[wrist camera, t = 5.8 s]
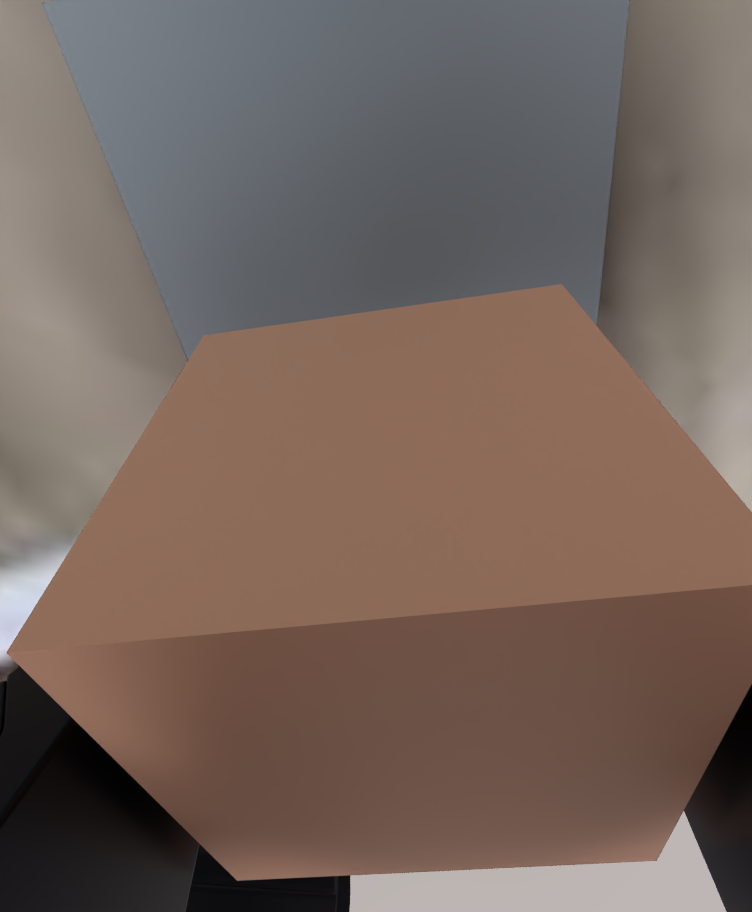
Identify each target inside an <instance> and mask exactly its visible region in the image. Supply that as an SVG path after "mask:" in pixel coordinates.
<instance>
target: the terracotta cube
mask: <svg viewBox="0 0 752 912" xmlns="http://www.w3.org/2000/svg"><path fill="white" fill-rule="evenodd" d="M7 654H8V655H9V656H10V657H11V658H12V659H13V660H14V661H15V662H16V663H17V664H18V665H19V666H20V667H21V668H22V669H23V670H24V671H25V672H26V673H27V674H28V675H29V676H30V677H31V678H32V679H33V680H34V681H35V682H37V683H38V684H39V685H40V686H41V687H42V688H43V689H44V690H45V691H46V692H47V693H48V694H49V695H50V696H51V697H52V698H53V699H54V700H55V701H56V702H57V703H58V704H59V705H60V706H61V707H62V708H63V709H64V710H65V711H66V712H67V713H68V714H69V715H70V716H71V717H72V718H73V719H74V720H75V721H76V722H77V723H78V724H79V725H80V726H81V727H82V728H83V729H84V730H85V731H86V732H87V733H88V734H89V735H90V736H91V737H92V738H93V739H94V740H95V741H96V742H97V743H98V744H99V745H100V746H101V747H102V748H103V749H104V750H105V751H106V752H107V753H108V754H109V755H110V756H111V757H112V758H113V759H114V760H115V761H116V762H117V763H118V764H119V765H120V766H121V767H123V768H124V769H125V770H126V771H127V772H128V773H129V774H130V775H131V776H132V777H133V778H134V779H135V780H136V781H137V782H138V783H139V784H140V785H141V786H142V787H143V788H144V789H145V790H146V791H147V792H148V793H149V794H150V795H151V796H152V797H153V798H154V799H155V800H156V801H157V802H158V803H159V804H160V805H161V806H162V807H163V808H164V809H165V810H166V811H167V812H168V813H169V814H170V815H171V816H172V817H173V818H174V819H175V820H176V821H177V822H178V823H179V824H180V825H181V826H182V827H183V828H184V829H185V830H186V831H187V832H188V833H189V834H190V835H191V836H192V837H193V838H194V839H195V840H196V841H197V842H198V843H199V844H200V845H201V846H202V847H203V848H204V849H205V850H206V851H208V852H209V853H210V854H211V855H212V856H213V857H214V858H215V859H216V860H217V861H218V862H219V863H220V864H221V865H222V866H223V867H224V868H225V869H226V870H227V871H228V872H229V873H230V874H231V875H232V876H233V877H234V878H235V879H236V880H237V881H241V880H262V879H283V878H304V877H325V876H346V875H364V874H365V875H366V874H385V873H386V874H387V873H407V872H408V873H409V872H428V871H451V870H470V869H490V868H491V869H493V868H513V867H533V866H534V867H535V866H554V865H555V866H556V865H575V864H598V863H619V862H639V861H657V859H658V857H659V855H660V854H661V852H662V850H663V848H664V846H665V844H666V842H667V840H668V839H669V837H670V835H671V833H672V831H673V829H674V827H675V826H676V824H677V822H678V820H679V818H680V816H681V815H682V813H683V811H684V809H685V807H686V805H687V803H688V802H689V800H690V798H691V796H692V794H693V792H694V790H695V789H696V787H697V785H698V783H699V781H700V779H701V777H702V775H703V774H704V772H705V770H706V768H707V766H708V764H709V762H710V761H711V759H712V757H713V755H714V753H715V751H716V749H717V748H718V746H719V744H720V742H721V740H722V738H723V736H724V735H725V733H726V731H727V729H728V727H729V725H730V723H731V722H732V720H733V718H734V716H735V714H736V712H737V710H738V709H739V707H740V705H741V703H742V701H743V699H744V697H745V696H746V694H747V692H748V690H749V688H750V686H751V684H752V512H751V511H750V510H749V509H748V508H747V506H746V505H745V504H744V503H743V502H742V500H741V499H740V498H739V497H738V496H737V494H736V493H735V492H734V491H733V489H732V488H731V487H730V486H729V485H728V483H727V482H726V481H725V480H724V479H723V477H722V476H721V475H720V474H719V473H718V471H717V470H716V469H715V468H714V467H713V465H712V464H711V463H710V462H709V461H708V459H707V458H706V457H705V456H704V455H703V453H702V452H701V451H700V450H699V449H698V447H697V446H696V445H695V444H694V443H693V441H692V440H691V439H690V438H689V437H688V435H687V434H686V433H685V432H684V430H683V429H682V428H681V427H680V426H679V424H678V423H677V422H676V421H675V420H674V418H673V417H672V416H671V415H670V414H669V412H668V411H667V410H666V409H665V408H664V406H663V405H662V404H661V403H660V402H659V400H658V399H657V398H656V397H655V396H654V394H653V393H652V392H651V391H650V390H649V388H648V387H647V386H646V385H645V384H644V382H643V381H642V380H641V379H640V377H639V376H638V375H637V374H636V373H635V371H634V370H633V369H632V368H631V367H630V365H629V364H628V363H627V362H626V361H625V359H624V358H623V357H622V356H621V355H620V353H619V352H618V351H617V350H616V349H615V347H614V346H613V345H612V344H611V343H610V341H609V340H608V339H607V338H606V337H605V335H604V334H603V333H602V332H601V331H600V329H599V328H598V327H597V326H596V325H595V323H594V322H593V321H592V320H591V318H590V317H589V316H588V315H587V314H586V312H585V311H584V310H583V309H582V308H581V306H580V305H579V304H578V303H577V302H576V300H575V299H574V298H573V297H572V296H571V294H570V293H569V292H568V291H567V290H566V288H565V287H564V286H563V285H562V284H559V285H552V286H545V287H538V288H531V289H524V290H517V291H510V292H503V293H496V294H489V295H482V296H475V297H468V298H461V299H454V300H447V301H440V302H433V303H426V304H419V305H412V306H405V307H398V308H391V309H384V310H377V311H370V312H363V313H356V314H349V315H342V316H335V317H328V318H322V319H315V320H308V321H301V322H294V323H287V324H280V325H273V326H266V327H259V328H252V329H245V330H238V331H231V332H224V333H217V334H210V335H204V336H203V337H202V339H201V341H200V342H199V344H198V345H197V347H196V349H195V350H194V352H193V353H192V355H191V357H190V358H189V360H188V362H187V363H186V365H185V366H184V368H183V370H182V371H181V373H180V374H179V376H178V378H177V379H176V381H175V382H174V384H173V386H172V387H171V389H170V390H169V392H168V394H167V395H166V397H165V399H164V400H163V402H162V403H161V405H160V407H159V408H158V410H157V411H156V413H155V415H154V416H153V418H152V419H151V421H150V423H149V424H148V426H147V427H146V429H145V431H144V432H143V434H142V436H141V437H140V439H139V440H138V442H137V444H136V445H135V447H134V448H133V450H132V452H131V453H130V455H129V456H128V458H127V460H126V461H125V463H124V465H123V466H122V468H121V469H120V471H119V473H118V474H117V476H116V477H115V479H114V481H113V482H112V484H111V485H110V487H109V489H108V490H107V492H106V493H105V495H104V497H103V498H102V500H101V502H100V503H99V505H98V506H97V508H96V510H95V511H94V513H93V514H92V516H91V518H90V519H89V521H88V522H87V524H86V526H85V527H84V529H83V530H82V532H81V534H80V535H79V537H78V539H77V540H76V542H75V543H74V545H73V547H72V548H71V550H70V551H69V553H68V555H67V556H66V558H65V559H64V561H63V563H62V564H61V566H60V567H59V569H58V571H57V572H56V574H55V576H54V577H53V579H52V580H51V582H50V584H49V585H48V587H47V588H46V590H45V592H44V593H43V595H42V596H41V598H40V600H39V601H38V603H37V604H36V606H35V608H34V609H33V611H32V613H31V614H30V616H29V617H28V619H27V621H26V622H25V624H24V625H23V627H22V629H21V630H20V632H19V633H18V635H17V637H16V638H15V640H14V641H13V643H12V645H11V646H10V648H9V650H8V651H7Z"/></svg>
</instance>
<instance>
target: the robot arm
mask: <svg viewBox="0 0 752 912" xmlns="http://www.w3.org/2000/svg"><path fill="white" fill-rule="evenodd" d="M684 812H685V814H686V816H687V819H688V821H689V823H690V826H691V828H692V831H693V833H694V836H695V838H696V840H697V843H698V845H699V847H700V850H701V852H702V855H703V857H704V859H705V862H706V864H707V866H708V869H709V871H710V873H711V876H712V878H713V880H714V883H715V885H716V888H717V890H718V892H719V894H720V897H721V900H722V902H723V904H724V907H725V909H726V911H727V912H752V684H751V686H750V688H749V690H748V692H747V694H746V696H745V697H744V699H743V701H742V703H741V705H740V707H739V709H738V710H737V712H736V714H735V716H734V718H733V720H732V722H731V723H730V725H729V727H728V729H727V731H726V733H725V735H724V736H723V738H722V740H721V742H720V744H719V746H718V748H717V749H716V751H715V753H714V755H713V757H712V759H711V761H710V762H709V764H708V766H707V768H706V770H705V772H704V774H703V775H702V777H701V779H700V781H699V783H698V785H697V787H696V789H695V790H694V792H693V794H692V796H691V798H690V800H689V802H688V803H687V805H686V807H685V809H684ZM349 906H350V875H346V876H325V877H304V878H283V879H262V880H241V881H237V880H236V879H235V878H234V877H233V876H232V875H231V874H230V873H229V872H228V871H227V870H226V869H225V868H224V867H223V866H222V865H221V864H220V863H219V862H218V861H217V860H216V859H215V858H214V857H213V856H212V855H211V854H210V853H209V852H208V851H206V850H205V849H204V848H203V847H202V846H201V845H200V844H199V843H198V842H197V841H196V840H195V839H194V838H193V837H192V836H191V835H190V834H189V833H188V832H187V831H186V830H185V829H184V828H183V827H182V826H181V825H180V824H179V823H178V822H177V821H176V820H175V819H174V818H173V817H172V816H171V815H170V814H169V813H168V812H167V811H166V810H165V809H164V808H163V807H162V806H161V805H160V804H159V803H158V802H157V801H156V800H155V799H154V798H153V797H152V796H151V795H150V794H149V793H148V792H147V791H146V790H145V789H144V788H143V787H142V786H141V785H140V784H139V783H138V782H137V781H136V780H135V779H134V778H133V777H132V776H131V775H130V774H129V773H128V772H127V771H126V770H125V769H124V768H123V767H121V766H120V765H119V764H118V763H117V762H116V761H115V760H114V759H113V758H112V757H111V756H110V755H109V754H108V753H107V752H106V751H105V750H104V749H103V748H102V747H101V746H100V745H99V744H98V743H97V742H96V741H95V740H94V739H93V738H92V737H91V736H90V735H89V734H88V733H87V732H86V731H85V730H84V729H83V728H82V727H81V726H80V725H79V724H78V723H77V722H76V721H75V720H74V719H73V718H72V717H71V716H70V715H69V714H68V713H67V712H66V711H65V710H64V709H63V708H62V707H61V706H60V705H59V704H58V703H57V702H56V701H55V700H54V699H53V698H52V697H51V696H50V695H49V694H48V693H47V692H46V691H45V690H44V689H43V688H42V687H41V686H40V685H39V684H38V683H37V682H35V681H34V680H33V679H32V678H31V677H30V676H29V675H28V674H27V673H26V672H25V671H24V670H23V669H22V668H21V667H20V666H17V667H16V668H15V669H14V670H13V671H12V672H11V673H10V674H9V675H8V676H7V681H1V682H0V912H349Z"/></svg>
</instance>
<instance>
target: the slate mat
mask: <svg viewBox="0 0 752 912" xmlns="http://www.w3.org/2000/svg"><path fill="white" fill-rule="evenodd" d="M629 1H630V0H55V1H51V2H46V3H42V4H43V6H44V9H45V11H46V14H47V16H48V19H49V21H50V24H51V26H52V28H53V31H54V33H55V36H56V38H57V41H58V43H59V46H60V48H61V51H62V53H63V55H64V58H65V60H66V63H67V65H68V68H69V70H70V73H71V75H72V77H73V80H74V82H75V85H76V87H77V90H78V92H79V95H80V97H81V100H82V102H83V104H84V107H85V109H86V112H87V114H88V117H89V119H90V122H91V124H92V127H93V129H94V131H95V134H96V136H97V139H98V141H99V144H100V146H101V149H102V151H103V153H104V156H105V158H106V161H107V163H108V166H109V168H110V171H111V173H112V176H113V178H114V180H115V183H116V185H117V188H118V190H119V193H120V195H121V198H122V200H123V203H124V205H125V207H126V210H127V212H128V215H129V217H130V220H131V222H132V225H133V227H134V229H135V232H136V234H137V237H138V239H139V242H140V244H141V247H142V249H143V252H144V254H145V256H146V259H147V261H148V264H149V266H150V269H151V271H152V274H153V276H154V279H155V281H156V283H157V286H158V288H159V291H160V293H161V296H162V298H163V301H164V303H165V305H166V308H167V310H168V313H169V315H170V318H171V320H172V323H173V325H174V328H175V330H176V332H177V335H178V337H179V340H180V342H181V345H182V347H183V350H184V352H185V355H186V357H187V359H188V360H189V358H190V357H191V355H192V353H193V352H194V350H195V349H196V347H197V345H198V344H199V342H200V341H201V339H202V337H203V336H204V335H210V334H217V333H224V332H231V331H238V330H245V329H252V328H259V327H266V326H273V325H280V324H287V323H294V322H301V321H308V320H315V319H322V318H328V317H335V316H342V315H349V314H356V313H363V312H370V311H377V310H384V309H391V308H398V307H405V306H412V305H419V304H426V303H433V302H440V301H447V300H454V299H461V298H468V297H475V296H482V295H489V294H496V293H503V292H510V291H517V290H524V289H531V288H538V287H545V286H552V285H559V284H562V285H563V286H564V287H565V288H566V290H567V291H568V292H569V293H570V294H571V296H572V297H573V298H574V299H575V300H576V302H577V303H578V304H579V305H580V306H581V308H582V309H583V310H584V311H585V312H586V314H587V315H588V316H589V317H590V318H591V320H592V321H593V322H594V323H595V325H596V326H597V320H598V310H599V300H600V290H601V280H602V270H603V260H604V250H605V240H606V230H607V220H608V210H609V200H610V190H611V180H612V170H613V160H614V150H615V140H616V130H617V120H618V111H619V101H620V91H621V81H622V71H623V61H624V51H625V41H626V31H627V21H628V11H629Z"/></svg>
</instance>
